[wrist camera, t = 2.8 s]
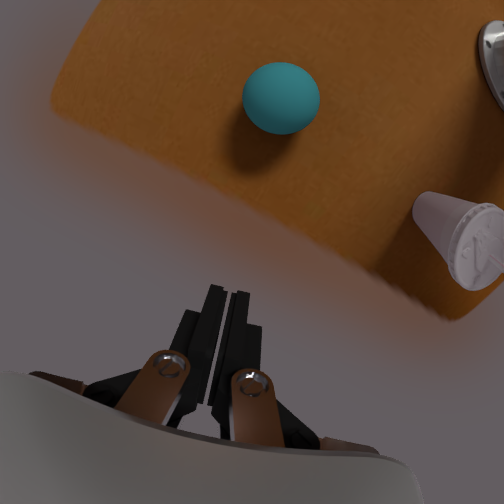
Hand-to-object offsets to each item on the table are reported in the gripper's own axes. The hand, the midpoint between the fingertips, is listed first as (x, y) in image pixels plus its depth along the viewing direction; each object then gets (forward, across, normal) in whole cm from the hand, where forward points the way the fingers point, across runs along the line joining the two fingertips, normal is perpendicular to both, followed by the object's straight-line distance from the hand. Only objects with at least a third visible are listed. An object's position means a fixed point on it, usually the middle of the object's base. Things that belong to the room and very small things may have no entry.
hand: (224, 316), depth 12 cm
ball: (+11, 0, -10) cm, 15 cm away
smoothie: (+14, -16, -5) cm, 22 cm away
